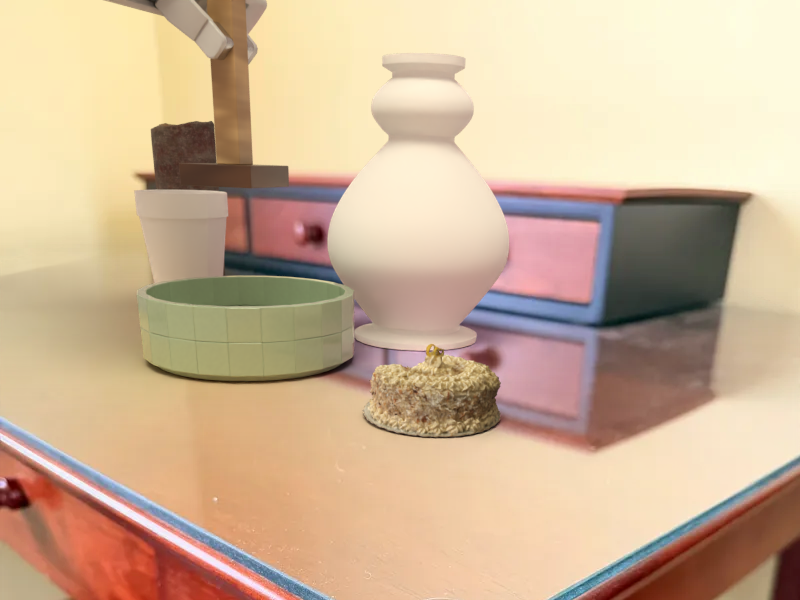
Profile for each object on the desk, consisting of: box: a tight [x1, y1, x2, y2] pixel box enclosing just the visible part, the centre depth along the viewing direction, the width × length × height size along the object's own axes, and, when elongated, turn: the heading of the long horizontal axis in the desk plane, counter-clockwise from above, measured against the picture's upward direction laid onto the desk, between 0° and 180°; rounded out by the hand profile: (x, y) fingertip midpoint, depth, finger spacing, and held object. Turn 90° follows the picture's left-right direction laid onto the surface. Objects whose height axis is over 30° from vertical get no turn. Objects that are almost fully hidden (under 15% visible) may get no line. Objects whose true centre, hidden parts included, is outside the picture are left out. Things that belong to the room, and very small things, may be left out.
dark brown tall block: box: [150, 120, 226, 276], centre depth 97 cm, size 8×7×20 cm
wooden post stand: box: [179, 0, 290, 189], centre depth 60 cm, size 6×6×16 cm
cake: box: [362, 344, 502, 438], centre depth 58 cm, size 10×10×5 cm
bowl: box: [136, 275, 355, 382], centre depth 73 cm, size 19×19×6 cm
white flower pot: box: [133, 189, 229, 283], centre depth 89 cm, size 10×9×13 cm
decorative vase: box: [327, 52, 510, 352], centre depth 79 cm, size 18×18×25 cm
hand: (236, 55), depth 59 cm, fingers closed on wooden post stand
